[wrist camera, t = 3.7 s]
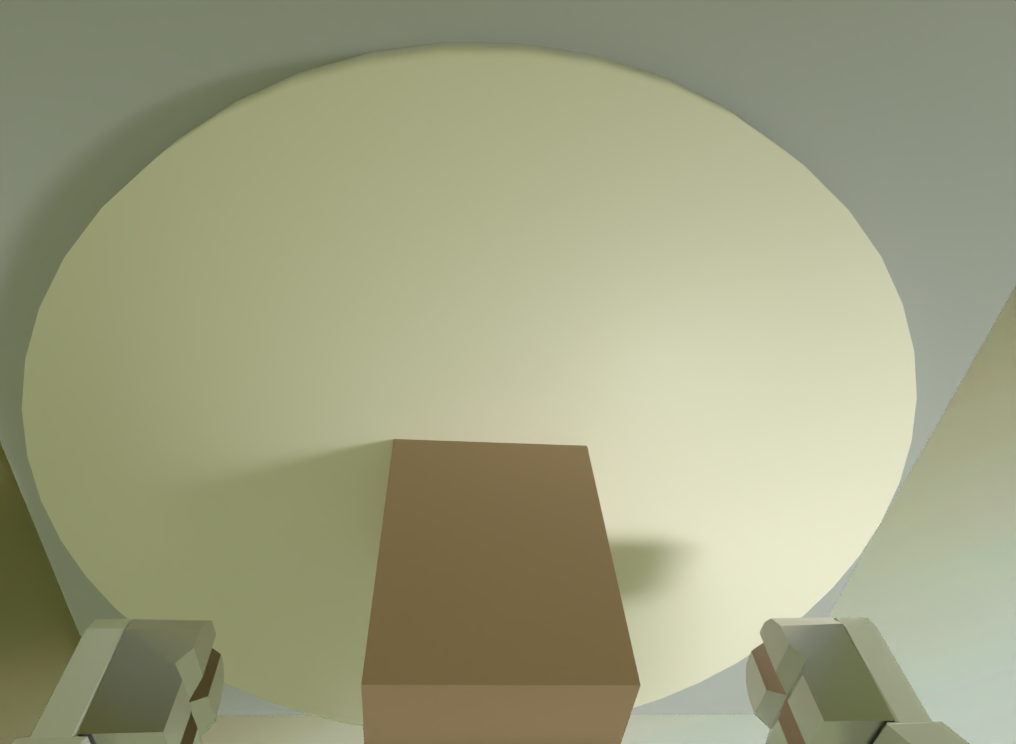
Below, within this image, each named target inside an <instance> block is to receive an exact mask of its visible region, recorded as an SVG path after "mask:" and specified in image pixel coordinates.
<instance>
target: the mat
mask: <svg viewBox="0 0 1016 744" xmlns="http://www.w3.org/2000/svg"><path fill="white" fill-rule="evenodd" d="M444 42H472V43H524V44H530V45H536V46H543V47H549V48H555V49H561V50H568V51H574V52H580V53H586V54H592V55H597V56H600V57H604V58H607V59H610V60H613V61H616V62H619V63H623V64H626V65H629V66H632V67H635V68H638V69H641V70H645V71H648V72H651V73H654V74H657V75H660V76H664V77H666V78H668V79H670V80H672V81H674V82H676V83H678V84H680V85H682V86H684V87H686V88H688V89H690V90H692V91H694V92H696V93H698V94H700V95H702V96H704V97H706V98H708V99H710V100H712V101H714V102H716V103H718V104H720V105H722V106H724V107H725V108H727V109H728V110H730V111H731V112H733V113H734V114H735V115H737V116H738V117H740V118H741V119H742V120H744V121H745V122H747V123H748V124H750V125H751V126H752V127H754V128H755V129H757V130H758V131H759V132H761V133H762V134H764V135H765V136H766V137H768V138H769V139H771V140H772V141H774V142H775V143H776V144H777V145H779V146H780V147H781V148H783V149H784V150H785V151H786V152H788V153H789V154H790V155H791V156H793V157H794V158H795V159H796V160H798V161H799V162H800V163H802V164H803V165H804V166H805V167H806V168H807V169H808V170H809V171H810V172H811V173H812V174H813V175H814V176H815V177H816V178H817V179H818V180H819V181H820V182H821V183H822V184H823V185H824V186H825V187H826V188H827V189H828V190H829V191H830V192H831V193H832V194H833V195H834V196H835V197H836V198H837V199H838V200H839V201H840V202H841V203H842V204H843V205H844V206H845V207H846V208H847V209H848V210H849V211H850V212H851V214H852V215H853V217H854V218H855V220H856V221H857V222H858V224H859V225H860V227H861V228H862V230H863V231H864V232H865V234H866V235H867V237H868V238H869V240H870V241H871V243H872V244H873V245H874V247H875V248H876V250H877V251H878V253H879V254H880V255H881V257H882V259H883V261H884V264H885V266H886V268H887V270H888V273H889V275H890V277H891V279H892V281H893V284H894V286H895V288H896V290H897V292H898V295H899V297H900V299H901V301H902V304H903V307H904V311H905V315H906V319H907V323H908V328H909V332H910V336H911V340H912V344H913V348H914V354H915V372H916V391H917V401H916V409H915V417H914V426H913V434H912V442H911V445H910V449H909V452H908V456H907V459H906V462H905V466H904V469H903V473H902V476H901V479H900V483H899V485H898V487H897V489H896V492H895V494H894V496H893V498H892V500H891V502H890V504H889V507H888V509H887V511H886V513H885V515H886V514H887V512H888V510H889V508H890V507H891V505H892V503H893V501H894V500H895V498H896V496H897V494H898V493H899V491H900V489H901V487H902V485H903V484H904V482H905V480H906V478H907V477H908V475H909V473H910V471H911V470H912V468H913V466H914V464H915V463H916V461H917V459H918V457H919V456H920V454H921V452H922V450H923V448H924V447H925V445H926V443H927V441H928V440H929V438H930V436H931V434H932V433H933V431H934V429H935V427H936V426H937V424H938V422H939V420H940V419H941V417H942V415H943V413H944V411H945V410H946V408H947V406H948V404H949V403H950V401H951V399H952V397H953V396H954V394H955V392H956V390H957V389H958V387H959V385H960V383H961V381H962V380H963V378H964V376H965V374H966V373H967V371H968V369H969V367H970V366H971V364H972V362H973V360H974V359H975V357H976V355H977V353H978V352H979V350H980V348H981V346H982V344H983V343H984V341H985V339H986V337H987V336H988V334H989V332H990V330H991V329H992V327H993V325H994V323H995V322H996V320H997V318H998V316H999V315H1000V313H1001V311H1002V309H1003V307H1004V306H1005V304H1006V302H1007V300H1008V299H1009V297H1010V295H1011V293H1012V292H1013V290H1014V288H1015V286H1016V0H0V443H1V445H2V447H3V450H4V452H5V455H6V457H7V460H8V462H9V464H10V467H11V469H12V472H13V474H14V477H15V479H16V481H17V484H18V486H19V489H20V491H21V494H22V496H23V498H24V501H25V503H26V506H27V508H28V511H29V513H30V516H31V518H32V520H33V523H34V525H35V528H36V530H37V533H38V535H39V537H40V540H41V542H42V545H43V547H44V550H45V552H46V554H47V557H48V559H49V562H50V564H51V567H52V569H53V571H54V574H55V576H56V579H57V581H58V584H59V586H60V589H61V591H62V593H63V596H64V598H65V601H66V603H67V606H68V608H69V610H70V613H71V615H72V618H73V620H74V623H75V625H76V627H77V630H78V632H79V635H80V637H82V635H83V633H84V631H85V630H86V629H87V628H88V627H89V626H90V625H91V624H92V622H93V621H94V620H95V619H127V618H126V617H125V616H124V615H122V614H121V613H120V612H119V611H118V610H117V609H115V608H114V607H113V605H112V604H111V603H110V602H109V601H108V600H107V599H106V598H105V597H104V596H103V595H102V593H101V592H100V591H99V590H98V589H97V588H96V587H95V586H94V585H93V584H92V583H91V581H90V580H89V579H88V578H87V577H86V576H85V574H84V573H83V572H82V570H81V569H80V567H79V566H78V564H77V563H76V562H75V560H74V559H73V557H72V556H71V554H70V553H69V552H68V550H67V549H66V547H65V546H64V544H63V543H62V542H61V540H60V538H59V536H58V534H57V532H56V530H55V528H54V526H53V524H52V522H51V520H50V518H49V516H48V514H47V512H46V510H45V508H44V506H43V504H42V502H41V500H40V496H39V493H38V490H37V487H36V483H35V480H34V477H33V473H32V470H31V467H30V464H29V460H28V457H27V450H26V442H25V433H24V425H23V417H22V397H23V382H24V368H25V358H26V355H27V351H28V347H29V343H30V340H31V336H32V332H33V329H34V325H35V321H36V318H37V314H38V310H39V307H40V305H41V303H42V301H43V299H44V297H45V295H46V293H47V291H48V289H49V287H50V285H51V283H52V281H53V279H54V277H55V275H56V273H57V271H58V269H59V267H60V265H61V263H62V261H63V259H64V257H65V256H66V254H67V253H68V252H69V250H70V249H71V248H72V246H73V245H74V244H75V242H76V241H77V240H78V239H79V237H80V236H81V235H82V233H83V232H84V231H85V229H86V228H87V227H88V225H89V224H90V223H91V221H92V220H93V219H94V217H95V216H96V215H97V213H98V212H99V211H100V209H101V208H102V207H103V206H104V205H105V204H106V203H107V202H108V201H110V200H111V199H112V198H113V197H114V196H115V195H116V194H117V193H118V192H119V191H120V190H121V189H123V188H124V187H125V186H126V185H127V184H128V183H129V182H130V181H131V180H132V179H133V178H135V177H136V176H137V175H138V174H139V173H140V172H141V171H142V170H143V169H144V168H145V167H146V166H148V165H149V164H150V163H151V162H152V161H153V160H154V159H155V158H157V157H158V156H159V155H160V154H161V153H163V152H164V151H165V150H166V149H167V148H168V147H170V146H171V145H172V144H173V143H174V142H176V141H177V140H178V139H179V138H180V137H182V136H183V135H185V134H186V133H188V132H190V131H191V130H193V129H194V128H196V127H197V126H199V125H200V124H202V123H203V122H205V121H206V120H208V119H209V118H211V117H212V116H214V115H216V114H217V113H219V112H220V111H222V110H223V109H225V108H226V107H228V106H229V105H231V104H232V103H234V102H235V101H237V100H239V99H242V98H244V97H246V96H248V95H251V94H253V93H255V92H257V91H259V90H262V89H264V88H266V87H268V86H271V85H273V84H275V83H277V82H279V81H282V80H284V79H286V78H288V77H291V76H293V75H295V74H297V73H299V72H302V71H305V70H309V69H313V68H316V67H320V66H323V65H327V64H330V63H334V62H338V61H341V60H345V59H348V58H352V57H355V56H359V55H363V54H366V53H370V52H374V51H382V50H390V49H398V48H405V47H413V46H421V45H429V44H437V43H444ZM885 515H884V517H885ZM884 517H883V519H884ZM883 519H882V521H883ZM881 523H882V522H881ZM881 523H880V524H881ZM879 526H880V525H879ZM879 526H878V528H879ZM878 528H877V529H876V531H877V530H878ZM876 531H875V532H874V534H873V535H872V537H871V539H870V540H869V542H868V543H867V545H866V546H865V548H864V549H863V551H862V553H861V554H860V556H859V557H858V558H857V559H856V561H855V562H854V563H853V564H852V565H851V567H850V568H849V569H848V570H847V571H846V573H845V574H844V575H843V576H842V577H841V579H840V580H839V581H838V582H837V583H836V585H835V586H834V587H833V588H832V589H831V590H830V591H829V592H828V593H827V594H826V595H825V596H824V597H823V598H822V599H821V600H820V601H818V602H817V603H816V604H815V605H814V606H813V607H812V608H811V609H810V610H809V611H808V612H807V613H806V614H805V615H804V616H803V617H801V618H813V617H828V616H829V614H830V612H831V611H832V609H833V607H834V605H835V604H836V602H837V600H838V598H839V597H840V595H841V593H842V591H843V589H844V588H845V586H846V584H847V582H848V581H849V579H850V577H851V575H852V574H853V572H854V570H855V568H856V567H857V565H858V563H859V561H860V560H861V558H862V556H863V554H864V552H865V551H866V549H867V547H868V545H869V544H870V542H871V540H872V538H873V537H874V535H875V533H876ZM748 658H749V656H747V657H746V658H744V659H742V660H741V661H739V662H738V663H736V664H734V665H732V666H730V667H728V668H727V669H725V670H723V671H721V672H719V673H717V674H715V675H713V676H711V677H709V678H707V679H705V680H704V681H702V682H700V683H697V684H695V685H693V686H690V687H688V688H685V689H683V690H681V691H678V692H676V693H674V694H671V695H669V696H667V697H664V698H662V699H659V700H656V701H653V702H650V703H647V704H644V705H641V706H638V707H635V708H633V709H632V712H631V715H705V714H754V711H753V708H752V705H751V703H750V700H749V697H748V692H747V687H746V663H747V661H748ZM256 715H311V714H307V713H303V712H299V711H296V710H293V709H290V708H287V707H284V706H281V705H278V704H276V703H273V702H270V701H267V700H264V699H261V698H258V697H256V696H254V695H251V694H249V693H247V692H244V691H242V690H240V689H238V688H235V687H233V686H231V685H228V684H226V683H223V690H222V697H221V703H220V706H219V710H218V713H217V716H256Z"/></svg>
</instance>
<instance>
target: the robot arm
mask: <svg viewBox="0 0 1016 744" xmlns="http://www.w3.org/2000/svg"><path fill="white" fill-rule="evenodd" d="M760 635H761V638H762V640H763V643H762V644H761V645H759V646H758V647H756V648H755V649H753V650H752V651H751V653H750V655H749V658H748V661H747V663H746V687H747V692H748V697H749V700H750V703H751V705H752V708H753V711H754V714H755V715H756V716H757V717H758V718H759V719H760V720H761V721H762V722H763V723H764V724H765V725H767V726H768V727H769V728H770V730H769V734H768V737H767V740H766V744H969V743H968V742H967V741H966V740H964V739H963V738H962V737H960V736H959V735H958V734H957V733H955V732H954V731H953V730H952V729H950V728H949V727H948V726H947V725H945V724H944V723H943V722H932V720H931V719H930V717H929V715H928V713H927V712H926V710H925V708H924V707H923V705H922V703H921V702H920V700H919V698H918V697H917V695H916V693H915V691H914V690H913V688H912V686H911V685H910V683H909V681H908V680H907V678H906V676H905V675H904V673H903V671H902V669H901V668H900V666H899V664H898V663H897V661H896V659H895V658H894V656H893V654H892V653H891V651H890V649H889V647H888V646H887V644H886V642H885V641H884V639H883V637H882V636H881V634H880V632H879V631H878V629H877V627H876V626H875V625H874V624H873V623H872V622H871V621H870V620H869V619H867V618H831V617H813V618H771V619H769V620H767V621H766V622H764V624H763V626H762V628H761V630H760ZM215 637H216V632H215V629H214V626H213V623H212V620H154V619H95V620H94V621H93V622H92V624H91V625H90V626H89V627H88V628H87V629H86V630H85V631H84V633H83V635H82V637H81V639H80V641H79V643H78V645H77V647H76V648H75V650H74V652H73V654H72V656H71V658H70V660H69V662H68V664H67V666H66V668H65V670H64V672H63V674H62V675H61V677H60V679H59V681H58V683H57V685H56V687H55V689H54V691H53V693H52V695H51V697H50V699H49V701H48V702H47V704H46V706H45V708H44V710H43V712H42V714H41V716H40V718H39V720H38V722H37V724H36V726H35V728H34V729H33V731H32V733H31V735H30V737H17V738H16V739H15V740H14V741H12V742H11V743H10V744H202V741H201V738H200V737H201V736H202V735H203V734H204V733H205V732H206V731H207V730H208V729H209V728H210V727H211V726H212V725H213V724H214V723H215V721H216V717H217V713H218V710H219V706H220V703H221V697H222V690H223V683H224V665H223V660H222V656H221V654H220V653H219V652H217V651H216V650H215V649H213V648H212V646H213V643H214V640H215Z"/></svg>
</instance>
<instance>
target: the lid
mask: <svg viewBox="0 0 1016 744" xmlns="http://www.w3.org/2000/svg"><path fill="white" fill-rule="evenodd" d="M916 401H917V391H916V372H915V354H914V348H913V344H912V340H911V336H910V332H909V328H908V323H907V319H906V315H905V311H904V307H903V304H902V301H901V299H900V297H899V295H898V292H897V290H896V288H895V286H894V284H893V281H892V279H891V277H890V275H889V273H888V270H887V268H886V266H885V264H884V261H883V259H882V257H881V255H880V254H879V253H878V251H877V250H876V248H875V247H874V245H873V244H872V243H871V241H870V240H869V238H868V237H867V235H866V234H865V232H864V231H863V230H862V228H861V227H860V225H859V224H858V222H857V221H856V220H855V218H854V217H853V215H852V214H851V212H850V211H849V210H848V209H847V208H846V207H845V206H844V205H843V204H842V203H841V202H840V201H839V200H838V199H837V198H836V197H835V196H834V195H833V194H832V193H831V192H830V191H829V190H828V189H827V188H826V187H825V186H824V185H823V184H822V183H821V182H820V181H819V180H818V179H817V178H816V177H815V176H814V175H813V174H812V173H811V172H810V171H809V170H808V169H807V168H806V167H805V166H804V165H803V164H802V163H800V162H799V161H798V160H796V159H795V158H794V157H793V156H791V155H790V154H789V153H788V152H786V151H785V150H784V149H783V148H781V147H780V146H779V145H777V144H776V143H775V142H774V141H772V140H771V139H769V138H768V137H766V136H765V135H764V134H762V133H761V132H759V131H758V130H757V129H755V128H754V127H752V126H751V125H750V124H748V123H747V122H745V121H744V120H742V119H741V118H740V117H738V116H737V115H735V114H734V113H733V112H731V111H730V110H728V109H727V108H725V107H724V106H722V105H720V104H718V103H716V102H714V101H712V100H710V99H708V98H706V97H704V96H702V95H700V94H698V93H696V92H694V91H692V90H690V89H688V88H686V87H684V86H682V85H680V84H678V83H676V82H674V81H672V80H670V79H668V78H666V77H664V76H660V75H657V74H654V73H651V72H648V71H645V70H641V69H638V68H635V67H632V66H629V65H626V64H623V63H619V62H616V61H613V60H610V59H607V58H604V57H600V56H597V55H592V54H586V53H580V52H574V51H568V50H561V49H555V48H549V47H543V46H536V45H530V44H524V43H472V42H444V43H437V44H429V45H421V46H413V47H405V48H398V49H390V50H382V51H374V52H370V53H366V54H363V55H359V56H355V57H352V58H348V59H345V60H341V61H338V62H334V63H330V64H327V65H323V66H320V67H316V68H313V69H309V70H305V71H302V72H299V73H297V74H295V75H293V76H291V77H288V78H286V79H284V80H282V81H279V82H277V83H275V84H273V85H271V86H268V87H266V88H264V89H262V90H259V91H257V92H255V93H253V94H251V95H248V96H246V97H244V98H242V99H239V100H237V101H235V102H234V103H232V104H231V105H229V106H228V107H226V108H225V109H223V110H222V111H220V112H219V113H217V114H216V115H214V116H212V117H211V118H209V119H208V120H206V121H205V122H203V123H202V124H200V125H199V126H197V127H196V128H194V129H193V130H191V131H190V132H188V133H186V134H185V135H183V136H182V137H180V138H179V139H178V140H177V141H176V142H174V143H173V144H172V145H171V146H170V147H168V148H167V149H166V150H165V151H164V152H163V153H161V154H160V155H159V156H158V157H157V158H155V159H154V160H153V161H152V162H151V163H150V164H149V165H148V166H146V167H145V168H144V169H143V170H142V171H141V172H140V173H139V174H138V175H137V176H136V177H135V178H133V179H132V180H131V181H130V182H129V183H128V184H127V185H126V186H125V187H124V188H123V189H121V190H120V191H119V192H118V193H117V194H116V195H115V196H114V197H113V198H112V199H111V200H110V201H108V202H107V203H106V204H105V205H104V206H103V207H102V208H101V209H100V211H99V212H98V213H97V215H96V216H95V217H94V219H93V220H92V221H91V223H90V224H89V225H88V227H87V228H86V229H85V231H84V232H83V233H82V235H81V236H80V237H79V239H78V240H77V241H76V242H75V244H74V245H73V246H72V248H71V249H70V250H69V252H68V253H67V254H66V256H65V257H64V259H63V261H62V263H61V265H60V267H59V269H58V271H57V273H56V275H55V277H54V279H53V281H52V283H51V285H50V287H49V289H48V291H47V293H46V295H45V297H44V299H43V301H42V303H41V305H40V307H39V310H38V314H37V318H36V321H35V325H34V329H33V332H32V336H31V340H30V343H29V347H28V351H27V355H26V358H25V368H24V382H23V397H22V417H23V425H24V433H25V442H26V450H27V457H28V460H29V464H30V467H31V470H32V473H33V477H34V480H35V483H36V487H37V490H38V493H39V496H40V500H41V502H42V504H43V506H44V508H45V510H46V512H47V514H48V516H49V518H50V520H51V522H52V524H53V526H54V528H55V530H56V532H57V534H58V536H59V538H60V540H61V542H62V543H63V544H64V546H65V547H66V549H67V550H68V552H69V553H70V554H71V556H72V557H73V559H74V560H75V562H76V563H77V564H78V566H79V567H80V569H81V570H82V572H83V573H84V574H85V576H86V577H87V578H88V579H89V580H90V581H91V583H92V584H93V585H94V586H95V587H96V588H97V589H98V590H99V591H100V592H101V593H102V595H103V596H104V597H105V598H106V599H107V600H108V601H109V602H110V603H111V604H112V605H113V607H114V608H115V609H117V610H118V611H119V612H120V613H121V614H122V615H124V616H125V617H126V618H127V619H154V620H212V623H213V626H214V629H215V632H216V637H215V640H214V643H213V646H212V648H213V649H215V650H216V651H217V652H219V653H220V654H221V656H222V660H223V665H224V683H226V684H228V685H231V686H233V687H235V688H238V689H240V690H242V691H244V692H247V693H249V694H251V695H254V696H256V697H258V698H261V699H264V700H267V701H270V702H273V703H276V704H278V705H281V706H284V707H287V708H290V709H293V710H296V711H299V712H303V713H307V714H311V715H315V716H319V717H323V718H327V719H331V720H335V721H338V722H344V723H349V724H355V725H361V726H363V729H364V744H621V741H622V738H623V735H624V732H625V729H626V726H627V724H628V721H629V718H630V715H631V712H632V709H633V708H635V707H638V706H641V705H644V704H647V703H650V702H653V701H656V700H659V699H662V698H664V697H667V696H669V695H671V694H674V693H676V692H678V691H681V690H683V689H685V688H688V687H690V686H693V685H695V684H697V683H700V682H702V681H704V680H705V679H707V678H709V677H711V676H713V675H715V674H717V673H719V672H721V671H723V670H725V669H727V668H728V667H730V666H732V665H734V664H736V663H738V662H739V661H741V660H742V659H744V658H746V657H747V656H749V655H750V653H751V651H752V650H753V649H755V648H756V647H758V646H759V645H761V644H762V643H763V640H762V638H761V635H760V630H761V628H762V626H763V624H764V622H766V621H767V620H769V619H771V618H801V617H803V616H804V615H805V614H806V613H807V612H808V611H809V610H810V609H811V608H812V607H813V606H814V605H815V604H816V603H817V602H818V601H820V600H821V599H822V598H823V597H824V596H825V595H826V594H827V593H828V592H829V591H830V590H831V589H832V588H833V587H834V586H835V585H836V583H837V582H838V581H839V580H840V579H841V577H842V576H843V575H844V574H845V573H846V571H847V570H848V569H849V568H850V567H851V565H852V564H853V563H854V562H855V561H856V559H857V558H858V557H859V556H860V554H861V553H862V551H863V549H864V548H865V546H866V545H867V543H868V542H869V540H870V539H871V537H872V535H873V534H874V532H875V531H876V529H877V528H878V526H879V525H880V523H881V522H882V519H883V517H884V515H885V513H886V511H887V509H888V507H889V504H890V502H891V500H892V498H893V496H894V494H895V492H896V489H897V487H898V485H899V483H900V479H901V476H902V473H903V469H904V466H905V462H906V459H907V456H908V452H909V449H910V445H911V442H912V434H913V426H914V417H915V409H916Z"/></svg>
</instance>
